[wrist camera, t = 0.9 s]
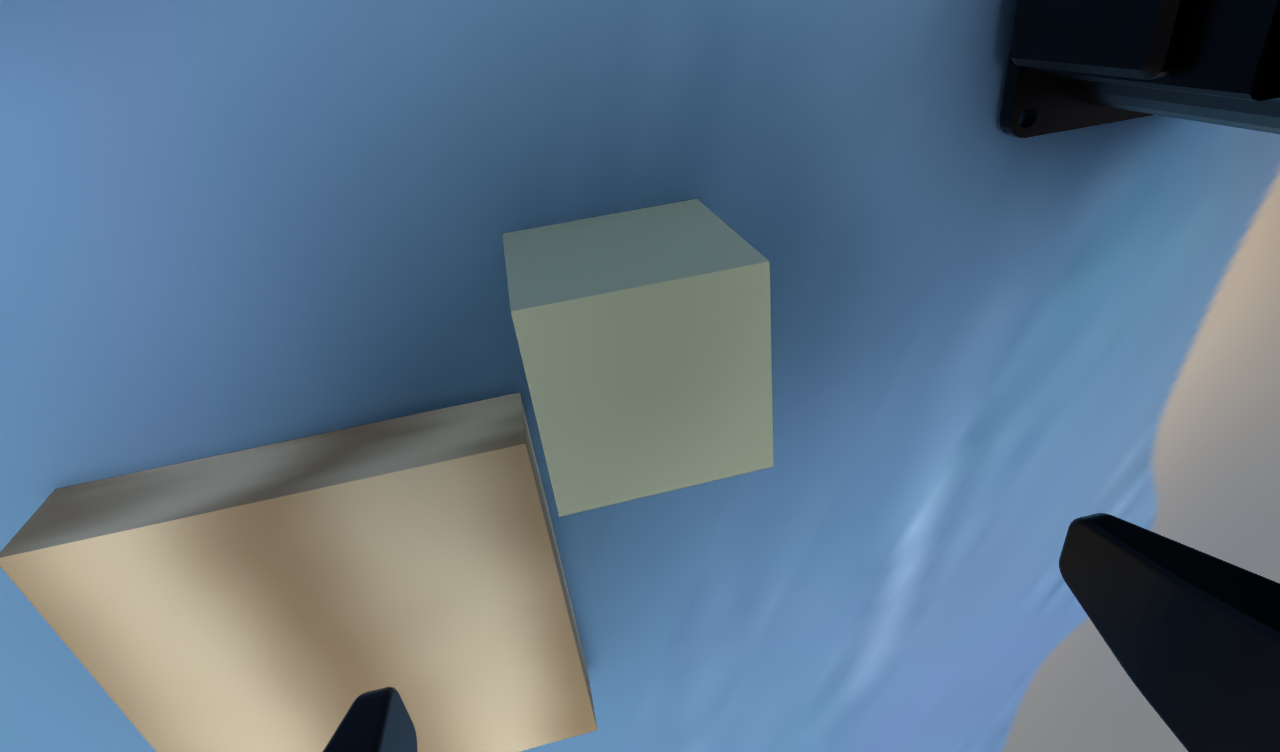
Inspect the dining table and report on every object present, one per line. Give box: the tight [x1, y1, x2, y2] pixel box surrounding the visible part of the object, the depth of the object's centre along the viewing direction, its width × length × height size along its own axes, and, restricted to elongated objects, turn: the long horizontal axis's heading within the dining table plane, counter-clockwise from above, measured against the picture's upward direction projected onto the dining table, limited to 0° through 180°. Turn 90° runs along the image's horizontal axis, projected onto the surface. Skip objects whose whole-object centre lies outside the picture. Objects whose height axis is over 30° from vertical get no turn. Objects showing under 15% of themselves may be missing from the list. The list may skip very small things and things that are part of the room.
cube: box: [502, 199, 774, 517], centre depth 16 cm, size 5×5×5 cm
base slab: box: [0, 392, 597, 752], centre depth 20 cm, size 12×12×3 cm
